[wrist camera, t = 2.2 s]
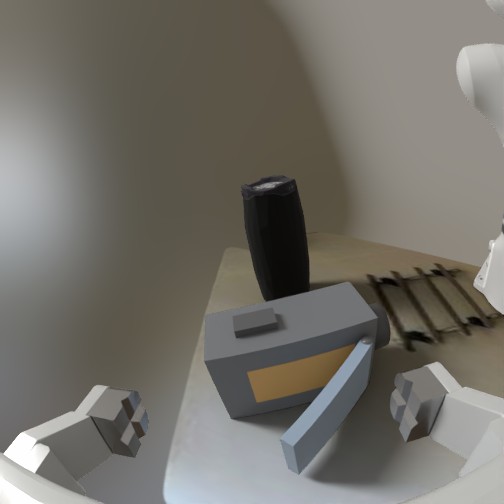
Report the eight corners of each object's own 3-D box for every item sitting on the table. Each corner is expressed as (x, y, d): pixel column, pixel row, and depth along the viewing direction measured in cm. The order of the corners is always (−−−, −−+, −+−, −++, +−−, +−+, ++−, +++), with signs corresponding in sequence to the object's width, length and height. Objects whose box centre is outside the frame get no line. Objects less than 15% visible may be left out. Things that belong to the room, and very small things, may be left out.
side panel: (359, 380, 27) (364, 333, 24) (368, 383, 26) (375, 337, 23) (288, 468, 19) (279, 437, 16) (299, 474, 18) (293, 445, 16)
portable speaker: (255, 313, 45) (227, 193, 37) (269, 281, 53) (249, 177, 45) (308, 313, 42) (291, 185, 34) (315, 281, 50) (301, 171, 42)
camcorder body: (366, 339, 34) (370, 269, 30) (389, 375, 28) (402, 302, 23) (227, 374, 34) (203, 308, 29) (231, 419, 27) (201, 355, 23)
